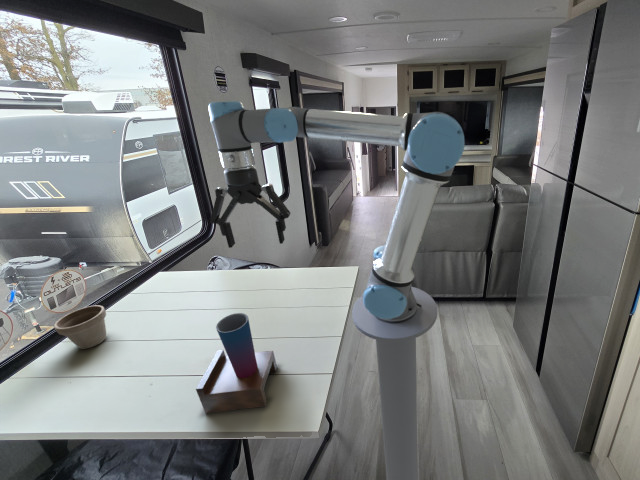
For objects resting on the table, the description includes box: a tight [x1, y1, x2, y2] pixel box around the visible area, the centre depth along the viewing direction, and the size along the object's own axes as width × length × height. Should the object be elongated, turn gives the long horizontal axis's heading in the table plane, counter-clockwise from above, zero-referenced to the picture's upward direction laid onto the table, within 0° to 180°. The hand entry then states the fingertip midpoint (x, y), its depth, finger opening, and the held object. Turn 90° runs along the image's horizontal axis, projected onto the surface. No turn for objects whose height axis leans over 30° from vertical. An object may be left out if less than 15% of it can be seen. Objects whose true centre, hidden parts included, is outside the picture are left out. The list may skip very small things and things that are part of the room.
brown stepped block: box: [195, 349, 278, 414], centre depth 78 cm, size 14×12×8 cm
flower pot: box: [53, 304, 107, 350], centre depth 96 cm, size 12×11×10 cm
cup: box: [215, 312, 257, 378], centre depth 74 cm, size 7×7×15 cm
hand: (257, 243), depth 86 cm, fingers open, 13 cm apart
